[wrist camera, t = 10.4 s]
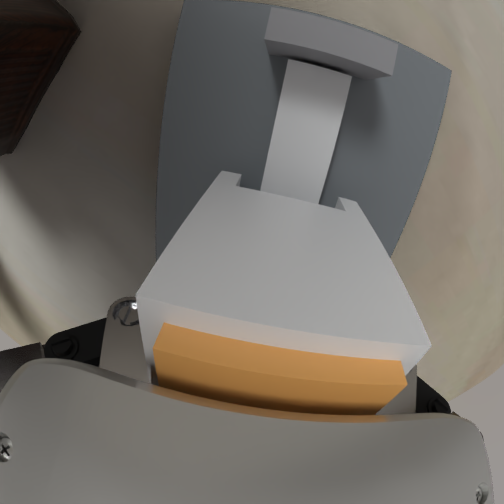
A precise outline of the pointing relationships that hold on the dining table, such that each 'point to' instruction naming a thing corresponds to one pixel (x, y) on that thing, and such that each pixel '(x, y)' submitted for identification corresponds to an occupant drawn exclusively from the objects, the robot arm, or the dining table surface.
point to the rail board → (295, 113)
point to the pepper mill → (29, 60)
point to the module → (279, 306)
